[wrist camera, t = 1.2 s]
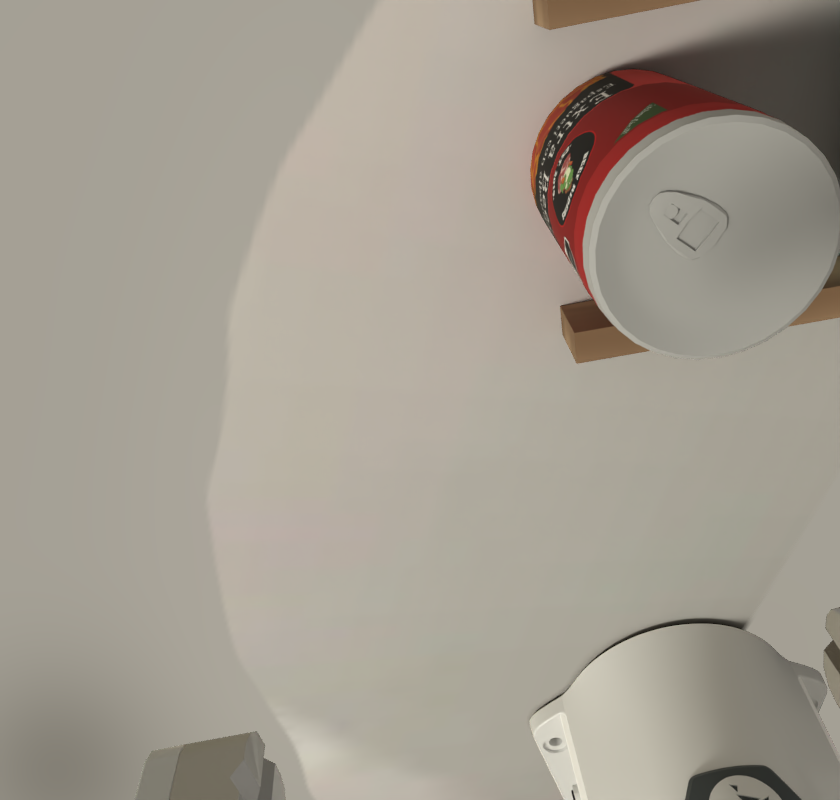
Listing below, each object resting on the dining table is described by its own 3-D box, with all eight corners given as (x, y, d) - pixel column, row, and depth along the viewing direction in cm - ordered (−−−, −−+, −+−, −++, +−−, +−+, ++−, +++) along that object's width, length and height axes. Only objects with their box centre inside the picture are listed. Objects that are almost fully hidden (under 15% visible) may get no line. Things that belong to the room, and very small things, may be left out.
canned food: (567, 39, 30) (653, 74, 21) (745, 101, 32) (903, 162, 22) (499, 223, 34) (547, 326, 24) (662, 272, 35) (768, 387, 26)
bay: (887, 277, 36) (971, 328, 31) (562, 334, 36) (591, 394, 31) (967, -296, 26) (1111, -359, 21) (514, -200, 26) (546, -238, 21)
